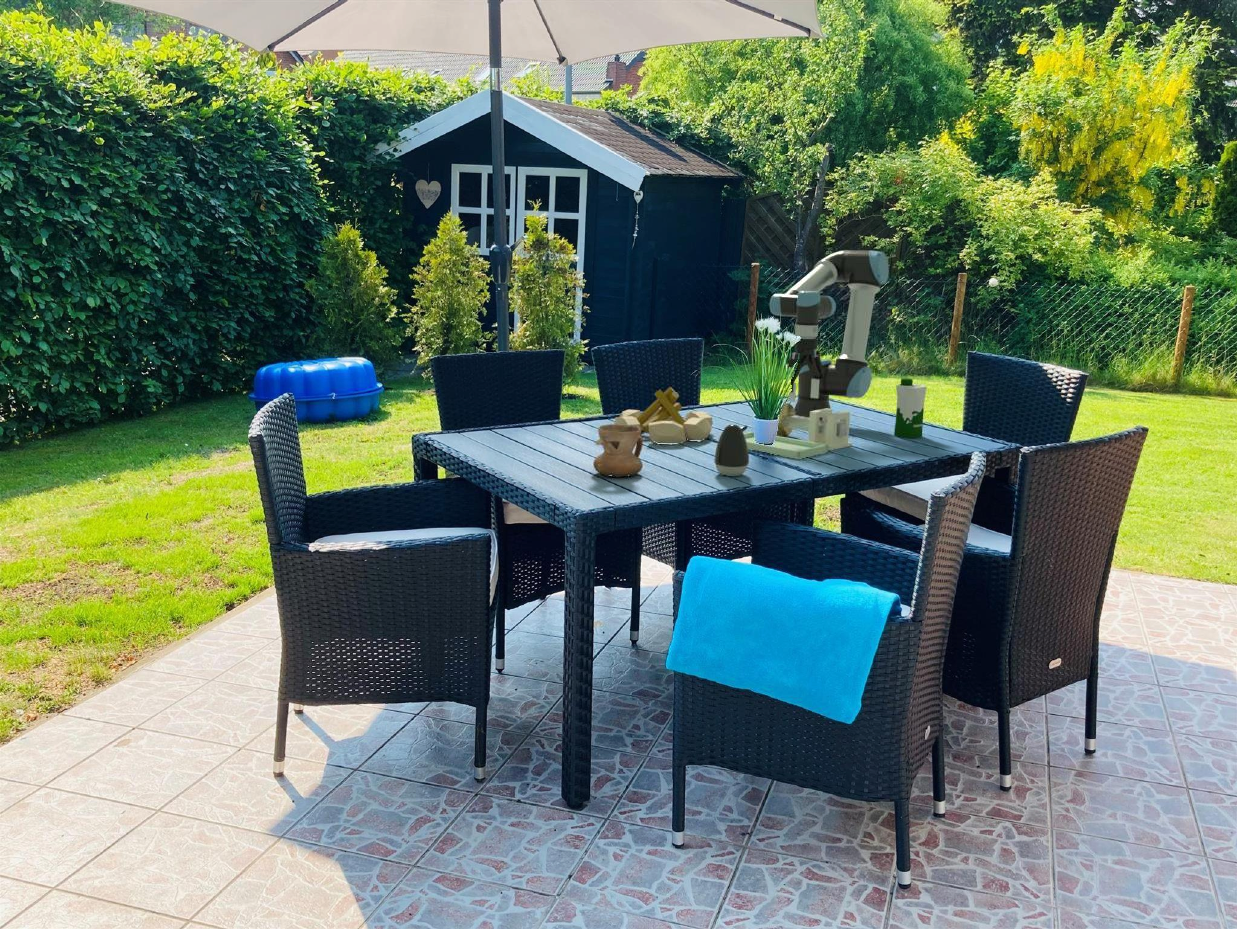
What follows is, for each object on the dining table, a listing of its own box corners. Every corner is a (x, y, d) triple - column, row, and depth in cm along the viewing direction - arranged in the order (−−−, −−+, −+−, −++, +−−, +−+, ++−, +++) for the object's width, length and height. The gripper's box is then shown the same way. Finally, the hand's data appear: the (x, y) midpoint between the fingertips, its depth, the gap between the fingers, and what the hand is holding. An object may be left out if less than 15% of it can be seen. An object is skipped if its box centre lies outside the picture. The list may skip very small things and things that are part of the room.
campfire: (727, 433, 384) (729, 385, 380) (688, 450, 355) (690, 399, 351) (639, 423, 400) (640, 378, 396) (595, 439, 371) (596, 390, 367)
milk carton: (904, 432, 388) (908, 377, 383) (926, 436, 381) (930, 380, 377) (890, 435, 382) (893, 379, 378) (911, 439, 375) (916, 382, 371)
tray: (752, 438, 374) (752, 431, 373) (827, 452, 353) (827, 445, 352) (722, 444, 363) (722, 437, 362) (798, 459, 341) (799, 451, 341)
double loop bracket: (804, 445, 364) (805, 411, 361) (824, 440, 372) (826, 407, 369) (831, 450, 356) (833, 416, 353) (851, 445, 364) (854, 411, 362)
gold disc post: (764, 438, 375) (766, 403, 372) (785, 433, 383) (787, 400, 381) (833, 450, 356) (835, 414, 353) (853, 445, 364) (855, 410, 361)
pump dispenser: (756, 476, 319) (758, 425, 315) (728, 480, 313) (730, 428, 310) (734, 469, 327) (736, 420, 324) (707, 473, 322) (708, 423, 318)
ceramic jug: (611, 483, 308) (613, 434, 305) (579, 473, 319) (581, 426, 316) (657, 475, 320) (660, 428, 317) (625, 466, 330) (627, 420, 327)
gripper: (793, 340, 352) (790, 404, 357) (836, 336, 370) (832, 397, 374) (775, 338, 357) (771, 402, 362) (818, 334, 375) (814, 395, 379)
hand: (802, 399), depth 368 cm, fingers open, 13 cm apart
